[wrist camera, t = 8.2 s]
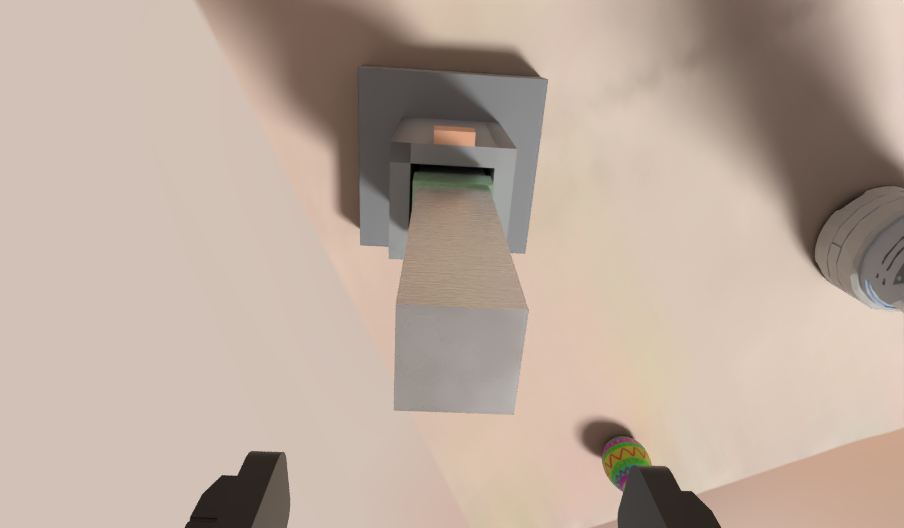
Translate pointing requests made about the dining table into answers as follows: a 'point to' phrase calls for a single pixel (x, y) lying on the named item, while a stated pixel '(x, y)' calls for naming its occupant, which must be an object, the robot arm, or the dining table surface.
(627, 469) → the egg
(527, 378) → the dining table surface
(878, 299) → the canister
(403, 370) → the column
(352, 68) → the dining table surface
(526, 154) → the stand
